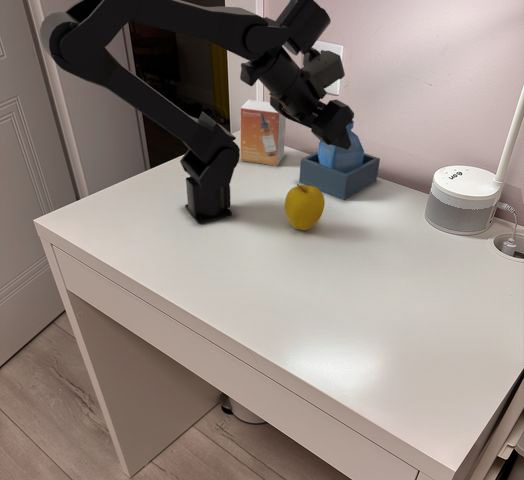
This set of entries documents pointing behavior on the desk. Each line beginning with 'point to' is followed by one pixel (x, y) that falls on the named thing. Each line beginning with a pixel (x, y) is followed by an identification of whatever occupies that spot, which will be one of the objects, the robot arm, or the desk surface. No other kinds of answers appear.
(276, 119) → the small box
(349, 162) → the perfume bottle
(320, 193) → the apple
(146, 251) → the desk surface
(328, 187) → the bin
